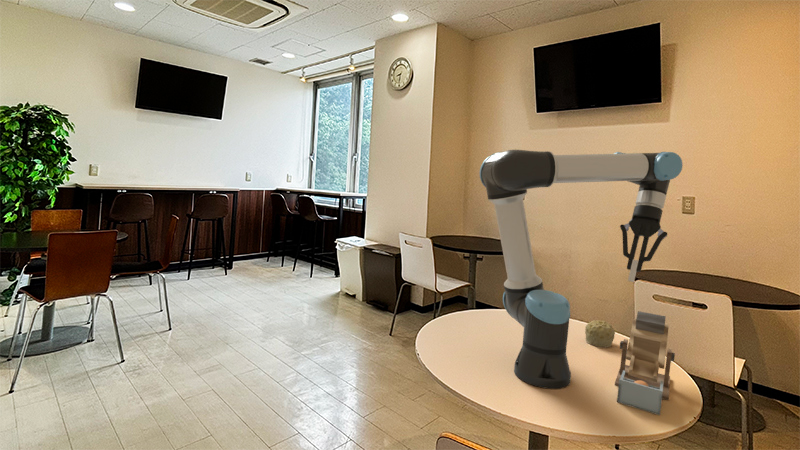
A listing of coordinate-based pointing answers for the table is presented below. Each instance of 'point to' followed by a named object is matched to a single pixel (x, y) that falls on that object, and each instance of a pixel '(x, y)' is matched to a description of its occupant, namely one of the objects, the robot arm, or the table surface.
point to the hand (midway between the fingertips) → (630, 281)
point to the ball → (641, 382)
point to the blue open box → (640, 395)
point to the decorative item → (599, 333)
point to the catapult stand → (662, 377)
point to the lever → (647, 346)
